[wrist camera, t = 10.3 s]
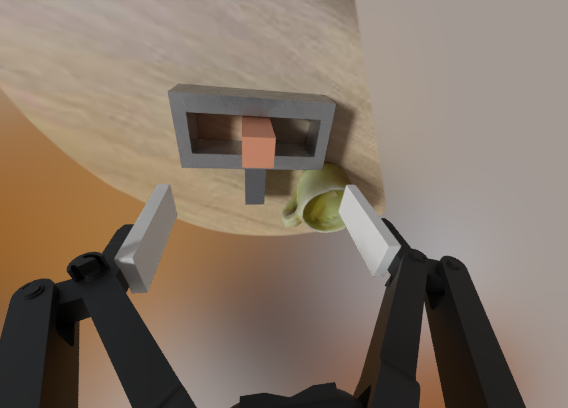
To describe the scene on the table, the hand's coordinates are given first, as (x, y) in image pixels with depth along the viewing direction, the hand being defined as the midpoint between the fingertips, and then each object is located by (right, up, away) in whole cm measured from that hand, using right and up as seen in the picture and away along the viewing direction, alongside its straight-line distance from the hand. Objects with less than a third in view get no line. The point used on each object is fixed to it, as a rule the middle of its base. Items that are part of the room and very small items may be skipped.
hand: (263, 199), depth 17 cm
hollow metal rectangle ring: (-3, +8, +17) cm, 19 cm away
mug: (+6, +3, +23) cm, 24 cm away
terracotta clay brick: (-3, +11, +15) cm, 19 cm away
